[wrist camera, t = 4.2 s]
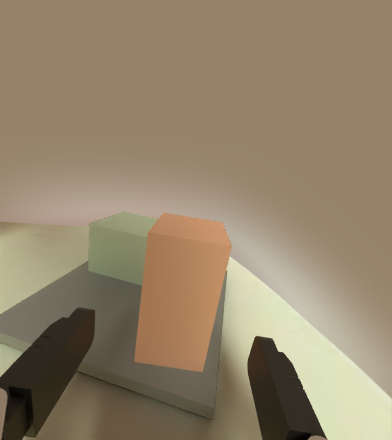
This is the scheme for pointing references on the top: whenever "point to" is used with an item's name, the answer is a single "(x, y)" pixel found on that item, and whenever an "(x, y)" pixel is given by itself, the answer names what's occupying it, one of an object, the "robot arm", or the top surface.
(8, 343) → the baseplate
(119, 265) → the bottom brick
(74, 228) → the top surface
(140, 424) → the top surface
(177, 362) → the top brick
